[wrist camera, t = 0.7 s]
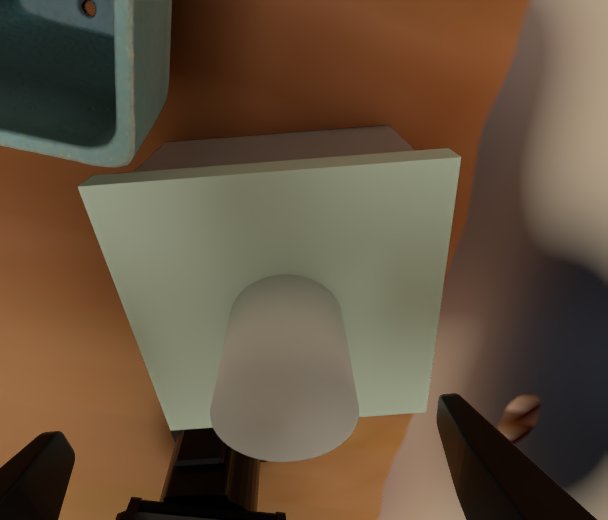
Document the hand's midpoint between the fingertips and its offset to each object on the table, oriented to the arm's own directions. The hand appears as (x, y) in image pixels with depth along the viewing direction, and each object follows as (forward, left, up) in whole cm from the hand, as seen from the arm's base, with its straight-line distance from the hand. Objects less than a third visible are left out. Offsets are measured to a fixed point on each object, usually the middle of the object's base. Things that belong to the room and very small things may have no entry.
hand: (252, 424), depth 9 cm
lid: (-1, -1, -6) cm, 6 cm away
